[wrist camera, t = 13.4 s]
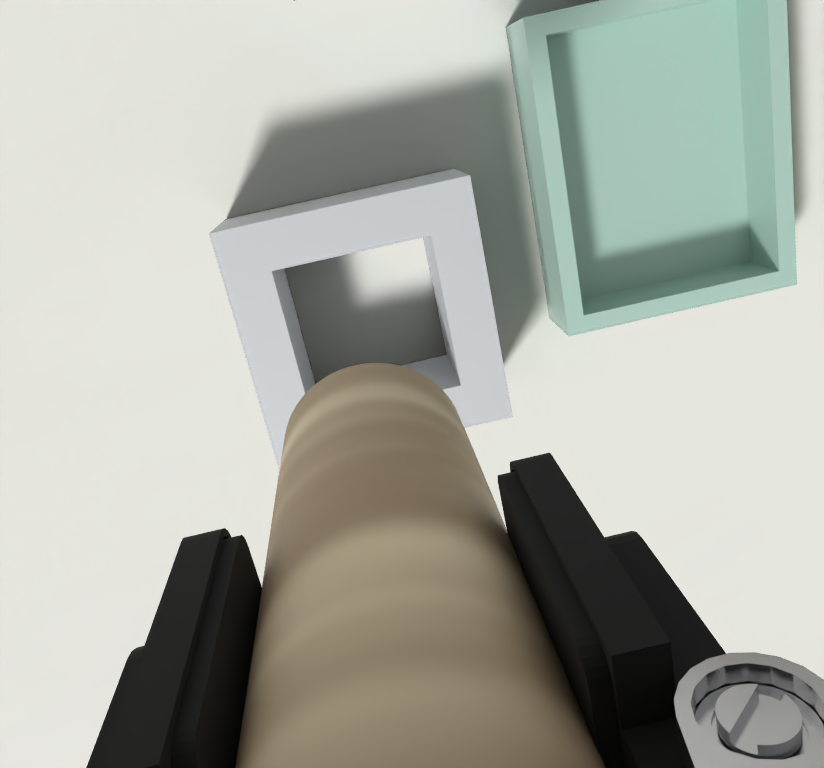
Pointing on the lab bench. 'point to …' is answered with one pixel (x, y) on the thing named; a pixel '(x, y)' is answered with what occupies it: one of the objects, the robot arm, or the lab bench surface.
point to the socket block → (353, 232)
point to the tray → (656, 154)
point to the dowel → (398, 599)
